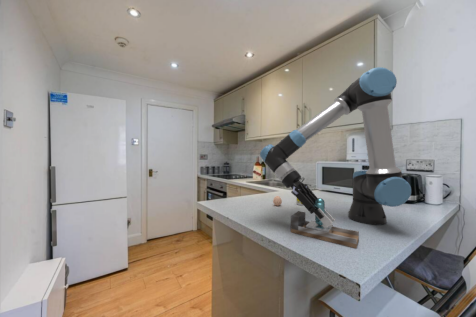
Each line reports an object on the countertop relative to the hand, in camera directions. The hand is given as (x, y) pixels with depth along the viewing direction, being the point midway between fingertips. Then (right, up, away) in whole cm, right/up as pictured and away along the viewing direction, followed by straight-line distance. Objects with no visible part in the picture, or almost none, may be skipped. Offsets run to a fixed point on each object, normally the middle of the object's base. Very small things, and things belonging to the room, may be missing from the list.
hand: (330, 223), depth 71 cm
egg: (-10, -5, +46) cm, 47 cm away
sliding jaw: (-3, -3, +2) cm, 5 cm away
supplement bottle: (+5, -5, +49) cm, 50 cm away
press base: (-2, -5, +2) cm, 6 cm away
